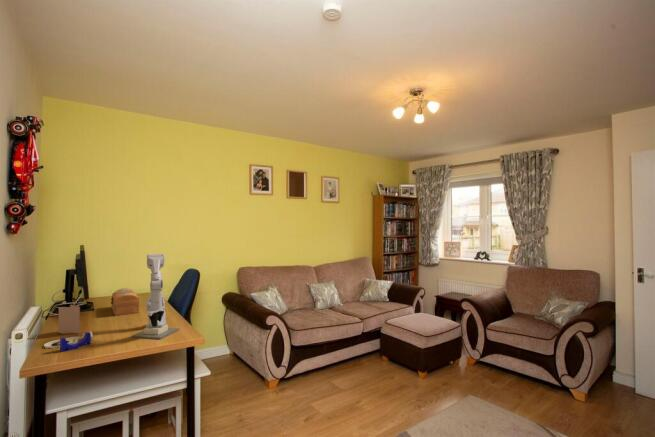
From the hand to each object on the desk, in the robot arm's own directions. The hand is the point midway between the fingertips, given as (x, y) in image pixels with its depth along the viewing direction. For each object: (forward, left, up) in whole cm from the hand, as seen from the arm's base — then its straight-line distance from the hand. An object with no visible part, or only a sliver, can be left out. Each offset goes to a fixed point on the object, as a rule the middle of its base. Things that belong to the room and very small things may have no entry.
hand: (156, 325), depth 188 cm
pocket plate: (0, 0, -5) cm, 5 cm away
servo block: (0, 0, -3) cm, 3 cm away
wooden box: (-42, -60, -5) cm, 74 cm away
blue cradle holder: (+26, -25, -5) cm, 37 cm away
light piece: (+21, -36, -5) cm, 42 cm away
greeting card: (+8, -51, -5) cm, 52 cm away
